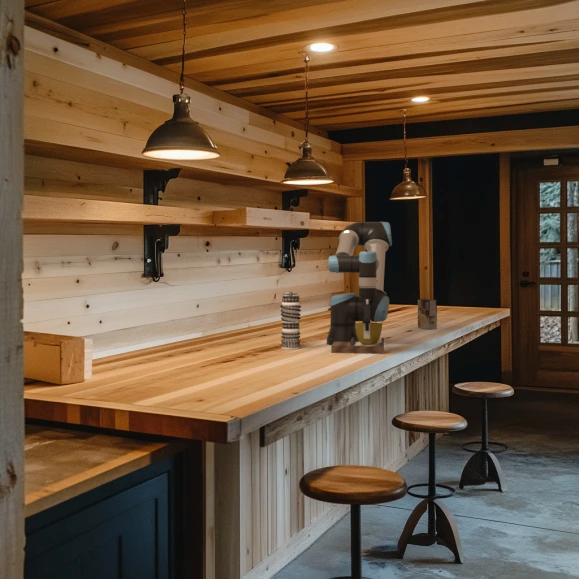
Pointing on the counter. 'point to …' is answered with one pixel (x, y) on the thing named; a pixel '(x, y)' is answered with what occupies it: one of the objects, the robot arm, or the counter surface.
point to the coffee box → (427, 314)
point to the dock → (357, 347)
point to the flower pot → (374, 332)
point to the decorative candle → (290, 320)
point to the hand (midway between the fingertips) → (367, 336)
